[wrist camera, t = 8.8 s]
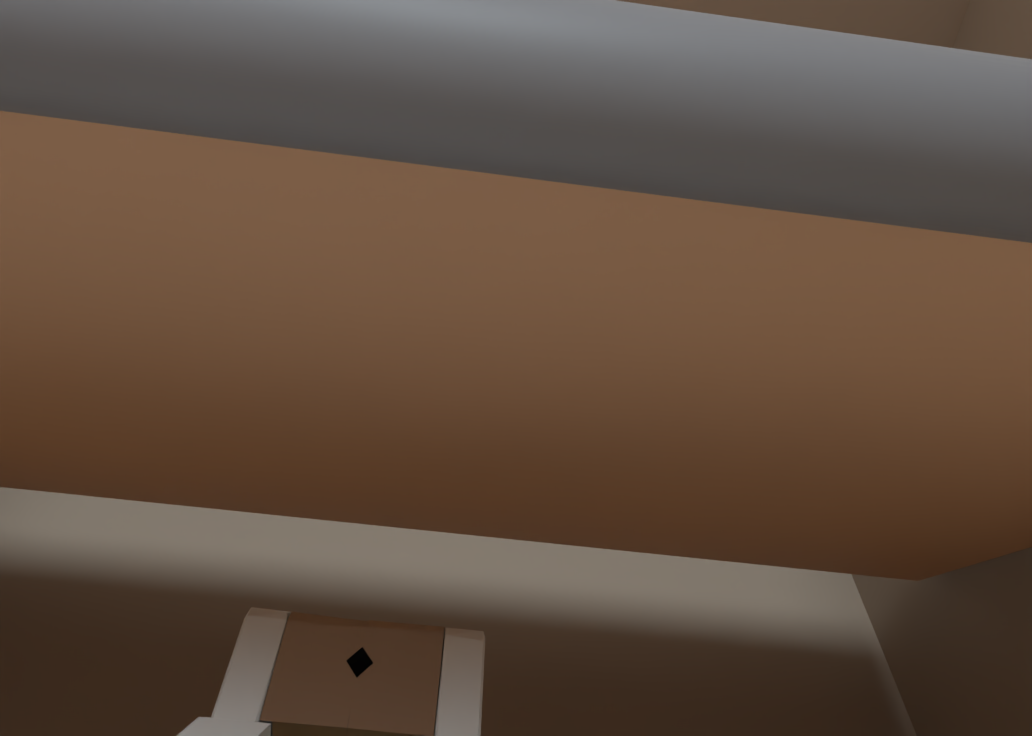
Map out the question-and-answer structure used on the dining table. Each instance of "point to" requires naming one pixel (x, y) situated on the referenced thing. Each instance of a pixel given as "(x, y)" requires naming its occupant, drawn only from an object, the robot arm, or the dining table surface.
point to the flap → (522, 275)
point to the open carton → (525, 586)
